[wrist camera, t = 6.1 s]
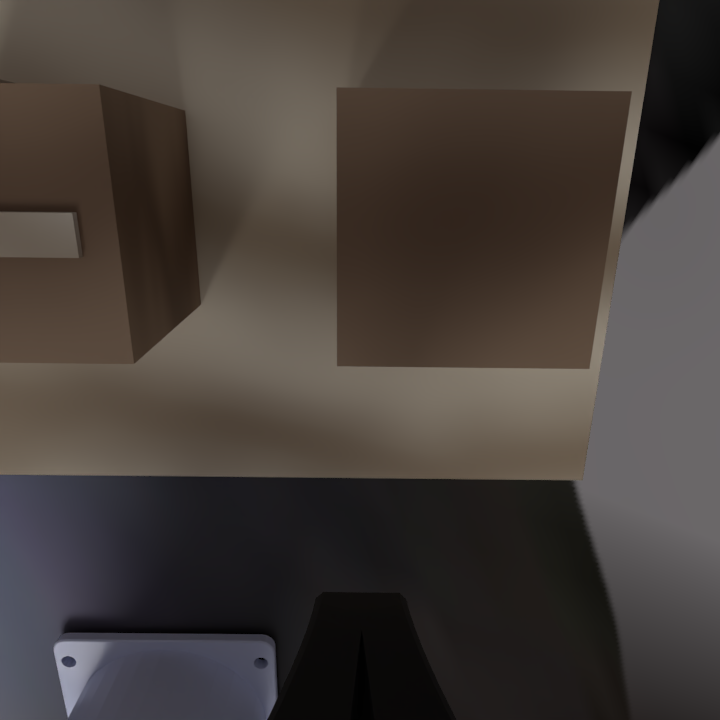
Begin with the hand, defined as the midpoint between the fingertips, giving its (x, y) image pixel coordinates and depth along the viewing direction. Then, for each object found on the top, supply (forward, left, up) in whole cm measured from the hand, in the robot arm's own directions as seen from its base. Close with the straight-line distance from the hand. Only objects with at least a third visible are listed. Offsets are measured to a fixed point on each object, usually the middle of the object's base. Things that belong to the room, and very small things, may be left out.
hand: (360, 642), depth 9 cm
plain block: (+6, -2, -8) cm, 11 cm away
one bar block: (+6, +7, -8) cm, 12 cm away
